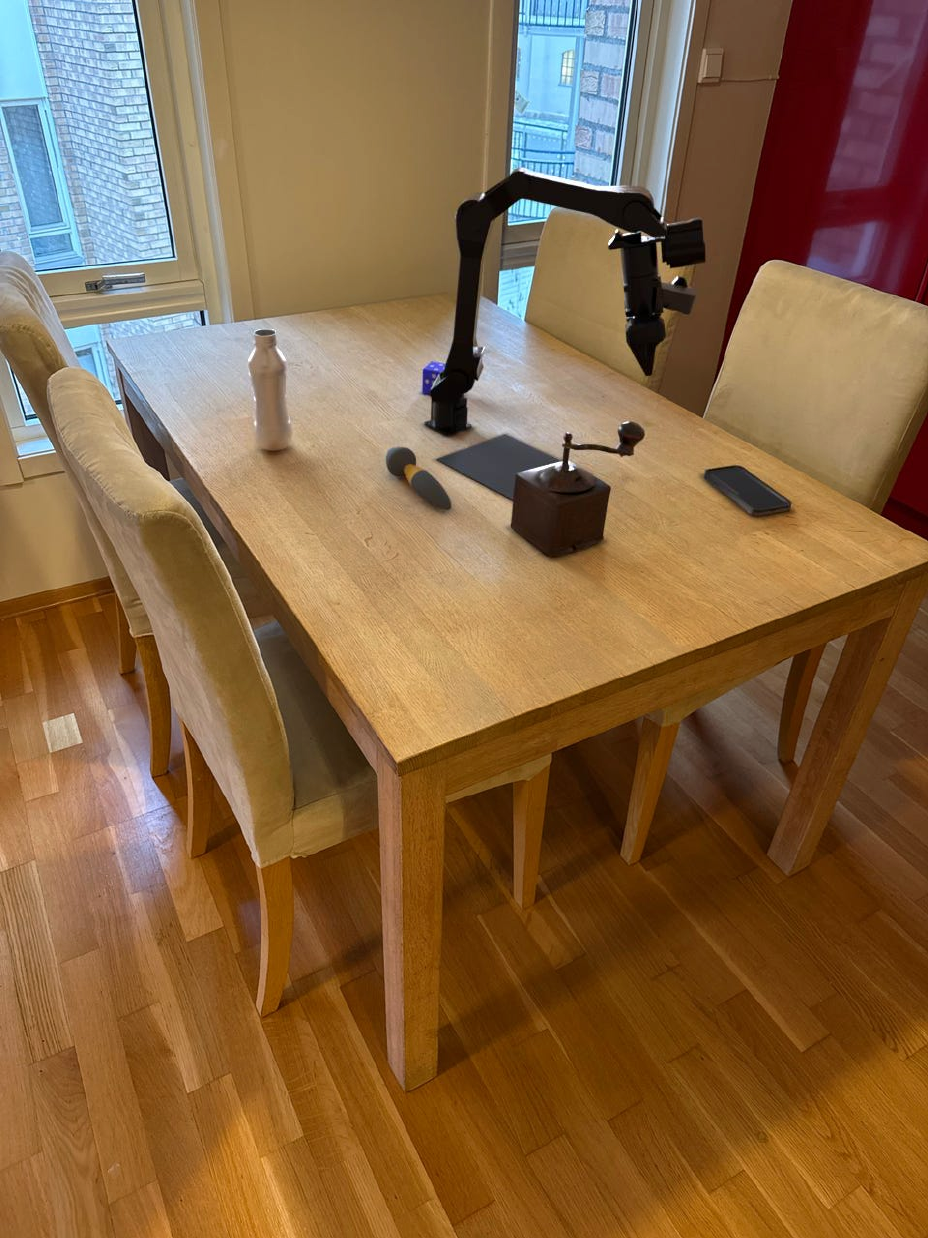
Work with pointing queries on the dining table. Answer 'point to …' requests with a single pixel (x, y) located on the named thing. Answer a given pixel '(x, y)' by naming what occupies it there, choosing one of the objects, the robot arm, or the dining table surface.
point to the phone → (747, 490)
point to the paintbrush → (416, 476)
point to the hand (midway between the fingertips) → (647, 366)
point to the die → (431, 375)
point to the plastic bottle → (269, 392)
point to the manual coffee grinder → (566, 499)
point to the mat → (497, 462)
